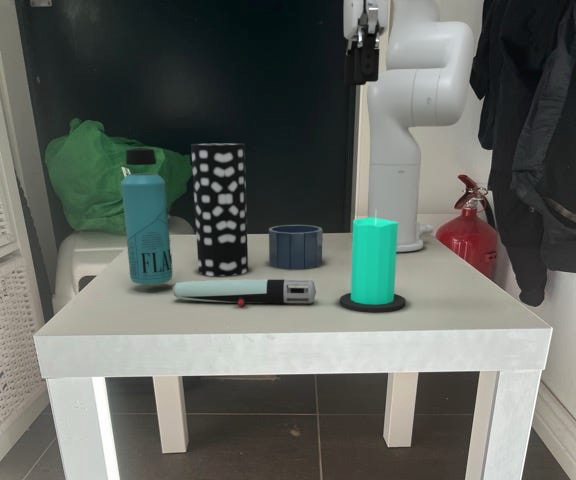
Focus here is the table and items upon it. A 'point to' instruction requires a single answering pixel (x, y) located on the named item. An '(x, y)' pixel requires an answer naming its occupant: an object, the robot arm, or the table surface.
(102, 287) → the table surface
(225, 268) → the spotted tube
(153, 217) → the beverage bottle
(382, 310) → the coaster
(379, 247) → the candle
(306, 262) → the holder
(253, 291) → the flashlight
